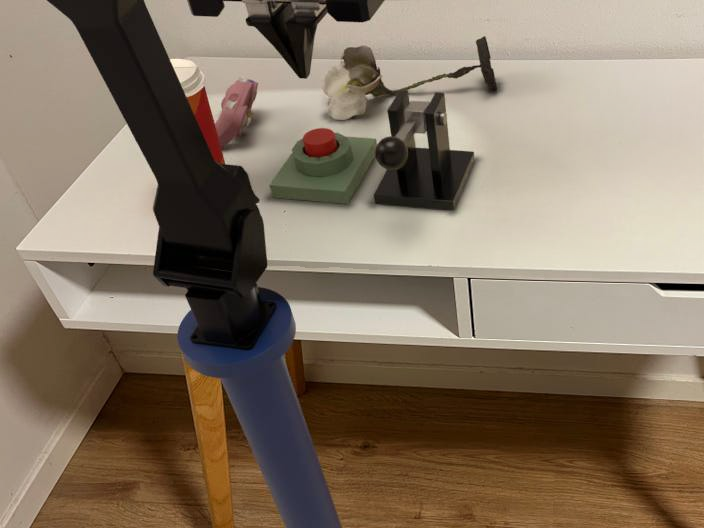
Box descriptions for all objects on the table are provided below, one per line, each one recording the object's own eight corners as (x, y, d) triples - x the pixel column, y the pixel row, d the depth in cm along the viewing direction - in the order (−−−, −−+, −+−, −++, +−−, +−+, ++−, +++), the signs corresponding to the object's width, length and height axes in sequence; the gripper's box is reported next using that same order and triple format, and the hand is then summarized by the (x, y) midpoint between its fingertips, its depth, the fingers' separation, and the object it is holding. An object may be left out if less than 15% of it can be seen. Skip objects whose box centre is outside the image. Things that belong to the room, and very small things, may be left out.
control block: (347, 204, 87) (341, 177, 84) (272, 197, 89) (264, 170, 86) (378, 151, 94) (373, 124, 92) (308, 145, 96) (302, 119, 93)
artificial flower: (503, 111, 101) (493, 49, 93) (335, 145, 103) (308, 87, 94) (495, 63, 106) (484, -1, 97) (333, 96, 107) (308, 36, 99)
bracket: (453, 210, 85) (445, 128, 78) (374, 203, 87) (359, 123, 80) (474, 160, 92) (469, 80, 84) (401, 155, 93) (389, 76, 86)
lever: (403, 177, 76) (400, 145, 74) (372, 174, 77) (368, 143, 75) (437, 127, 85) (435, 98, 83) (408, 125, 86) (406, 96, 84)
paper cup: (158, 199, 90) (109, 83, 80) (203, 164, 94) (162, 51, 84) (210, 215, 87) (166, 97, 77) (254, 179, 91) (218, 63, 81)
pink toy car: (238, 161, 97) (250, 113, 93) (201, 147, 96) (211, 99, 91) (256, 120, 104) (267, 74, 99) (221, 107, 103) (231, 60, 98)
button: (331, 159, 88) (328, 145, 86) (301, 157, 88) (297, 143, 87) (342, 142, 90) (339, 128, 89) (312, 140, 91) (309, 126, 89)
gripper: (390, -114, 75) (410, 46, 86) (213, -114, 79) (255, 39, 90) (352, -74, 68) (379, 96, 79) (159, -76, 71) (211, 86, 83)
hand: (304, 76), depth 83 cm, fingers closed
